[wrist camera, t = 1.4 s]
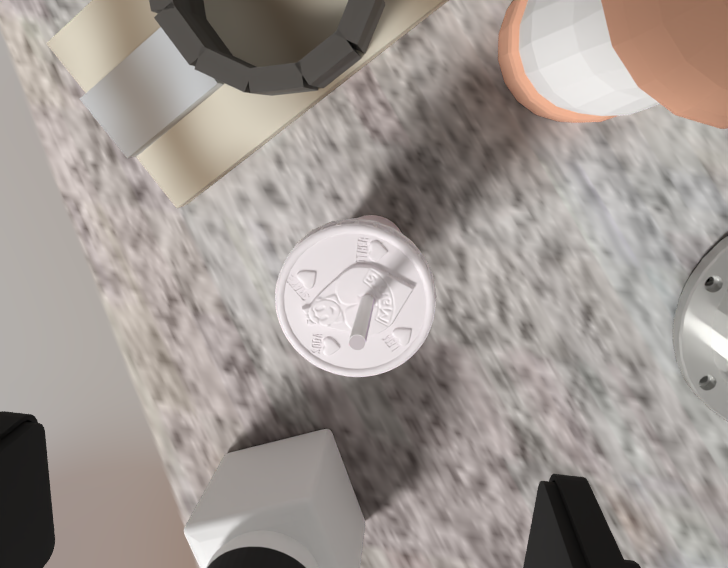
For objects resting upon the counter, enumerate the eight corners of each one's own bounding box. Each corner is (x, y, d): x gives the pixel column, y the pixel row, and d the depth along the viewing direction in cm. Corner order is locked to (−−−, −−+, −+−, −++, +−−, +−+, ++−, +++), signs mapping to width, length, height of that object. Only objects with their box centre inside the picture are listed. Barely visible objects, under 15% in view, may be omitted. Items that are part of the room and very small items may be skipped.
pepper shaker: (567, 152, 30) (810, 218, 11) (465, 48, 29) (555, -62, 10) (685, 38, 28) (1203, -100, 10) (581, -78, 27) (936, -479, 9)
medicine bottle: (223, 451, 36) (135, 608, 25) (331, 424, 35) (290, 576, 24) (263, 545, 38) (198, 731, 27) (367, 522, 37) (346, 706, 26)
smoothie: (443, 287, 32) (464, 412, 19) (333, 316, 33) (279, 454, 20) (412, 174, 31) (410, 223, 17) (297, 208, 32) (212, 279, 18)
